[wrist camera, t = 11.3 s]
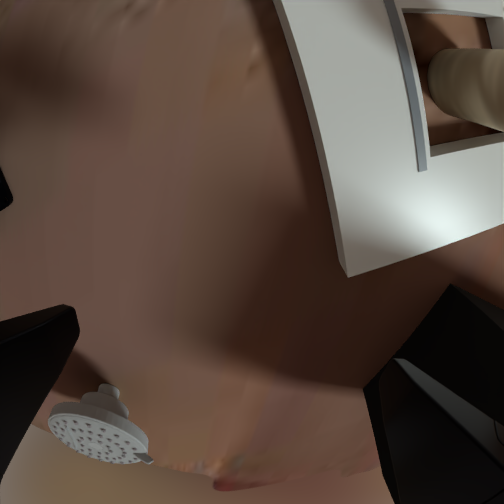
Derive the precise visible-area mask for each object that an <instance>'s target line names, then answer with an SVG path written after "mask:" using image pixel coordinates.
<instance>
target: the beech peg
mask: <svg viewBox="0 0 504 504" xmlns="http://www.w3.org/2000/svg"><path fill="white" fill-rule="evenodd" d="M427 80H428V87H429V91H430V94H431V96H432V98H433V100H434V102H435V103H436V105H437V106H438V107H439V108H440V109H441V110H442V111H443V112H444V113H446V114H448V115H450V116H453V117H457V118H461V119H464V120H468V121H471V122H474V123H478V124H481V125H484V126H487V127H490V128H493V129H496V130H499V131H502V132H504V50H503V49H443V50H441V51H439V52H437V53H436V54H435V55H434V56H433V58H432V59H431V61H430V64H429V67H428V73H427Z"/></svg>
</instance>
